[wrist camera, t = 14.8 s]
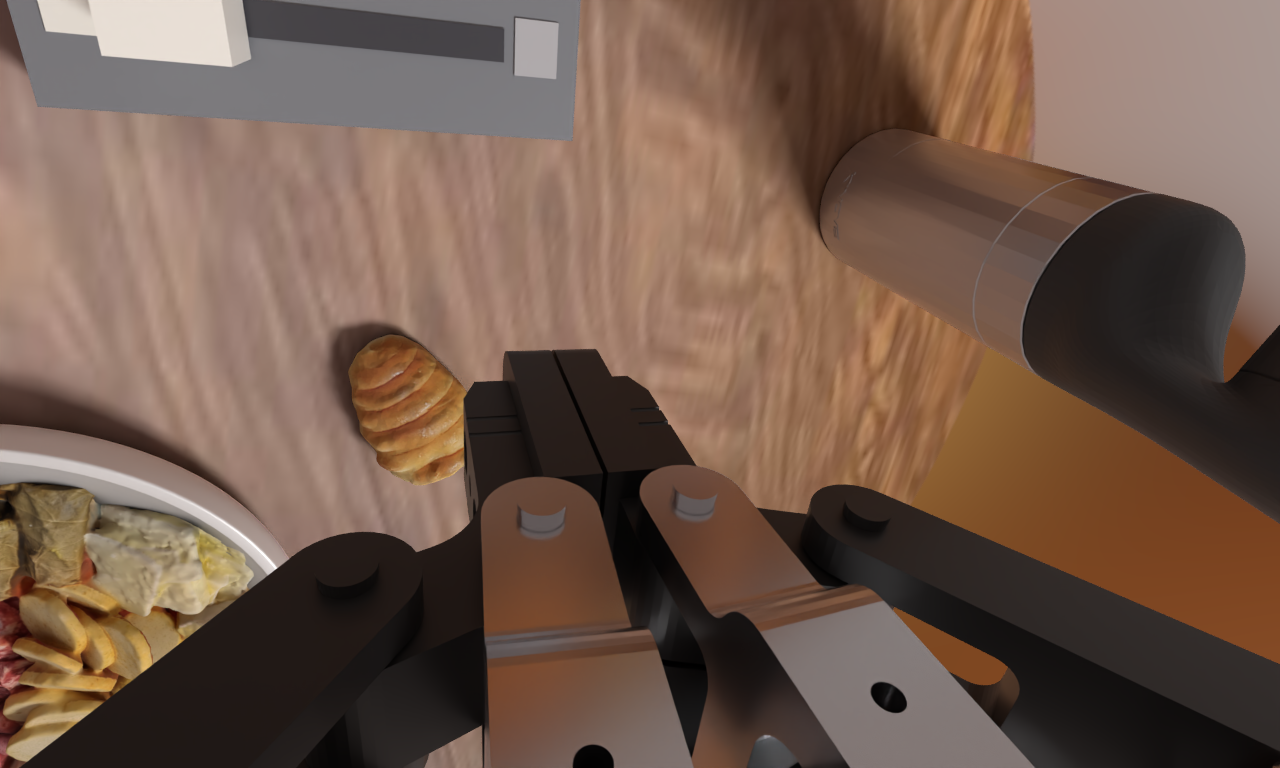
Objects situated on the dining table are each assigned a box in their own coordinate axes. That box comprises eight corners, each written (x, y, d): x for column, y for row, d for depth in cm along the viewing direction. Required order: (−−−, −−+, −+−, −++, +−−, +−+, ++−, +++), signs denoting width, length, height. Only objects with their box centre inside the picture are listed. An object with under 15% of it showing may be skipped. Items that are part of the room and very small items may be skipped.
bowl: (-210, 284, 30) (-378, 363, 23) (401, 517, 46) (402, 603, 39) (-417, 722, 36) (-597, 883, 29) (186, 792, 52) (157, 906, 45)
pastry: (317, 358, 38) (311, 389, 35) (427, 310, 39) (430, 337, 36) (398, 472, 44) (399, 508, 40) (493, 428, 44) (501, 460, 41)
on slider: (238, -25, 26) (217, -28, 23) (251, 58, 28) (232, 66, 24) (118, -40, 25) (77, -46, 22) (137, 48, 26) (101, 55, 23)
